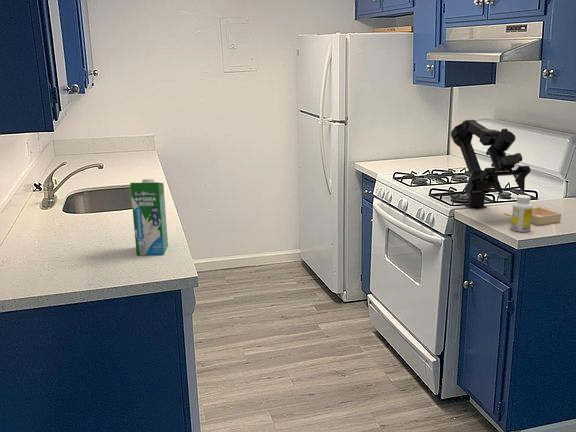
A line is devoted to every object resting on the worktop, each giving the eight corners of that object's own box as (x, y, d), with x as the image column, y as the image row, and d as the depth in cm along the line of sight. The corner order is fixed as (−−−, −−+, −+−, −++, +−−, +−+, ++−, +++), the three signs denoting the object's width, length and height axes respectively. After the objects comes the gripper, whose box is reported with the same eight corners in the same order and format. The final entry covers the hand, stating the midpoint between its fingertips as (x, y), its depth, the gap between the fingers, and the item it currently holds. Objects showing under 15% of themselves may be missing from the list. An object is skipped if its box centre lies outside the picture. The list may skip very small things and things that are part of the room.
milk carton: (168, 246, 204) (163, 176, 197) (163, 255, 195) (158, 182, 188) (142, 246, 203) (136, 176, 196) (136, 255, 195) (130, 182, 188)
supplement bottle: (531, 228, 218) (535, 195, 214) (528, 233, 212) (532, 199, 209) (512, 226, 221) (515, 193, 217) (509, 230, 216) (512, 197, 212)
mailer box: (503, 213, 237) (504, 205, 236) (525, 210, 241) (525, 202, 240) (538, 225, 221) (539, 217, 220) (560, 222, 225) (561, 213, 224)
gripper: (486, 147, 218) (499, 182, 211) (530, 144, 222) (545, 179, 215) (473, 163, 228) (486, 197, 221) (516, 161, 232) (530, 194, 224)
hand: (512, 192), depth 220 cm, fingers open, 9 cm apart
